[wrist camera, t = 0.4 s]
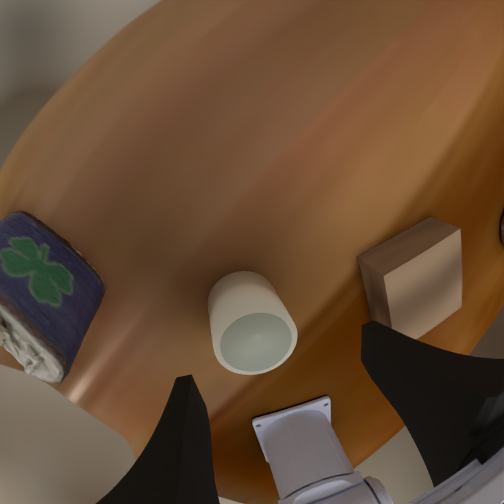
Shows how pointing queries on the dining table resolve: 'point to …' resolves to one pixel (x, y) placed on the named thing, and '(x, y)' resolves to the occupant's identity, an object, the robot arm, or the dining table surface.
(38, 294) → the flask
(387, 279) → the block
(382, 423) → the dining table surface
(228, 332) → the cup
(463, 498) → the robot arm
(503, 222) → the sauce bottle
